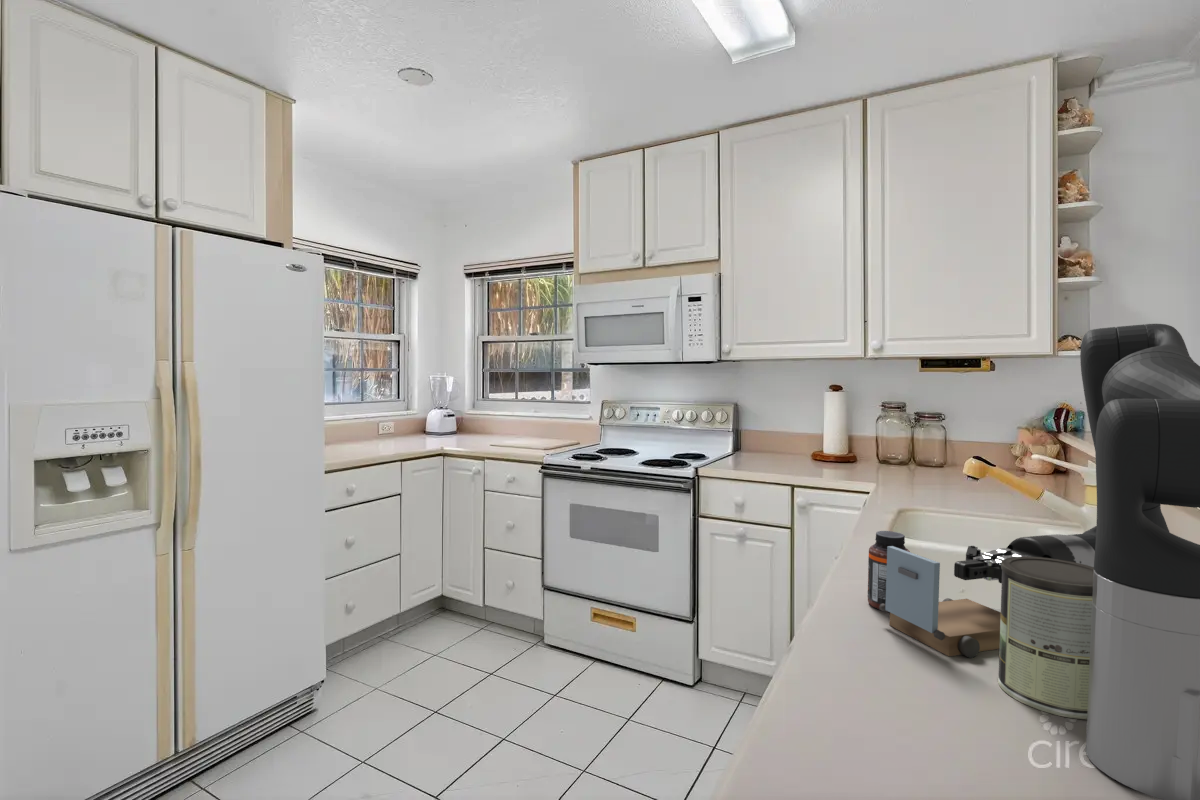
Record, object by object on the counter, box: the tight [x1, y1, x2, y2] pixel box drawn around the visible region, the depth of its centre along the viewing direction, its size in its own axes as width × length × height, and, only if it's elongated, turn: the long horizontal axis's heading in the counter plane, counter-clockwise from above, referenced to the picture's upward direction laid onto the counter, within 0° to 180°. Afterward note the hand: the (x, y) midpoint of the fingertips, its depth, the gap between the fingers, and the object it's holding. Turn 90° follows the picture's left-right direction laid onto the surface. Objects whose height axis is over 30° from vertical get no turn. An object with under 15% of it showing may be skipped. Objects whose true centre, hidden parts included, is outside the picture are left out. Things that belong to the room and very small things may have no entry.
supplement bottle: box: [867, 530, 911, 611], centre depth 93 cm, size 6×6×11 cm
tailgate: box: [885, 546, 941, 633], centre depth 81 cm, size 8×1×9 cm, turn 17°
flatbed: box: [879, 597, 1001, 659], centre depth 83 cm, size 12×15×3 cm
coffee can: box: [997, 556, 1094, 721], centre depth 67 cm, size 10×10×14 cm
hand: (958, 571), depth 84 cm, fingers closed
